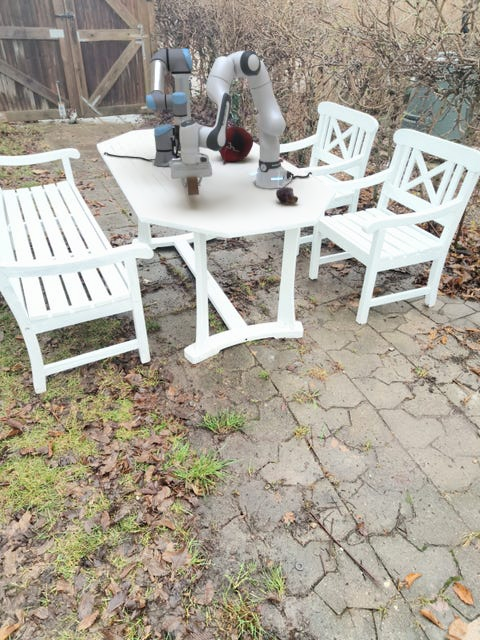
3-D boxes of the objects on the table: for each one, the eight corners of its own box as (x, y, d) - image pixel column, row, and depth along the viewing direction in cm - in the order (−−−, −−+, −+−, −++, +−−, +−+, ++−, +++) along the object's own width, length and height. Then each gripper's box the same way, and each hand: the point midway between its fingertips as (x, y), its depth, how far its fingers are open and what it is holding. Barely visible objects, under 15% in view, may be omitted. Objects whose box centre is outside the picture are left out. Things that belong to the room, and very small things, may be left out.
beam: (179, 166, 261) (178, 152, 257) (188, 166, 262) (187, 152, 258) (188, 195, 220) (187, 179, 215) (198, 194, 221) (198, 178, 216)
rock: (287, 200, 238) (271, 203, 234) (287, 184, 235) (271, 186, 231) (300, 203, 229) (283, 206, 225) (300, 186, 225) (283, 189, 221)
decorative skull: (214, 132, 305) (214, 129, 282) (248, 124, 304) (250, 121, 281) (221, 164, 312) (221, 164, 288) (254, 157, 311) (257, 156, 288)
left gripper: (164, 126, 240) (168, 170, 253) (198, 124, 243) (201, 168, 256) (163, 123, 246) (167, 166, 259) (197, 122, 249) (199, 164, 262)
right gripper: (169, 160, 210) (171, 189, 218) (212, 158, 213) (213, 186, 221) (168, 157, 215) (170, 185, 223) (210, 154, 219) (211, 183, 226)
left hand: (184, 167), depth 258 cm, fingers closed on beam, 5 cm apart
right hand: (192, 186), depth 222 cm, fingers closed on beam, 5 cm apart
